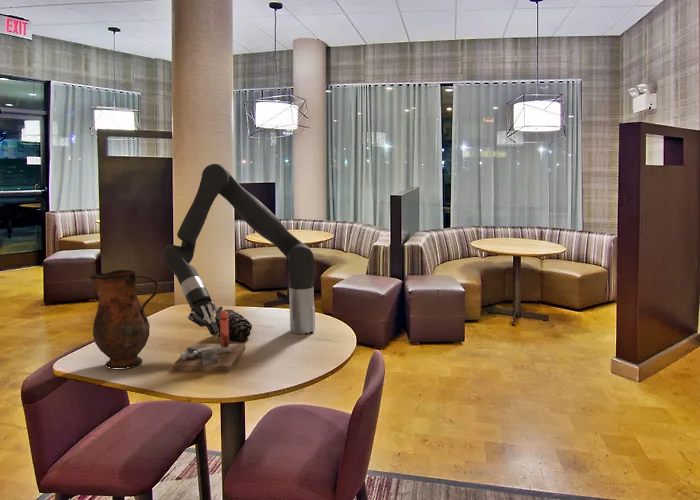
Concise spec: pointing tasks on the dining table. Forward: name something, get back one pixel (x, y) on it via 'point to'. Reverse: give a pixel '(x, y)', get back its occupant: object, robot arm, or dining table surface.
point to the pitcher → (120, 317)
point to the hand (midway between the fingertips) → (215, 334)
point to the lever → (220, 349)
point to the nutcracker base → (222, 360)
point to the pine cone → (237, 327)
